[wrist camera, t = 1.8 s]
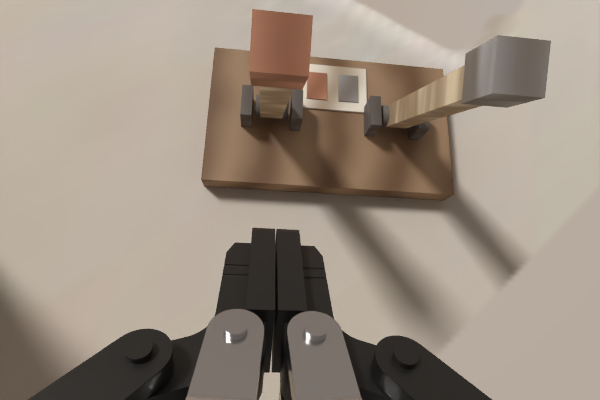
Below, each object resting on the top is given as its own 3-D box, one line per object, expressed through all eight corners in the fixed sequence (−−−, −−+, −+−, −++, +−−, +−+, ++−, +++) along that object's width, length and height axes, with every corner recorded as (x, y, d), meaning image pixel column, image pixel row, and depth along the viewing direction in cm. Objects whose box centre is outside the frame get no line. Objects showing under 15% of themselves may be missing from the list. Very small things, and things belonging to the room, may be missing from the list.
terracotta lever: (255, 122, 37) (247, 71, 18) (256, 92, 36) (250, 8, 18) (286, 124, 37) (311, 76, 18) (288, 95, 37) (314, 15, 18)
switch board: (204, 186, 36) (197, 169, 32) (216, 59, 40) (212, 30, 36) (443, 200, 39) (467, 186, 35) (434, 79, 43) (454, 54, 38)
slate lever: (376, 131, 38) (490, 92, 19) (379, 103, 38) (496, 34, 19) (406, 134, 38) (546, 97, 19) (408, 105, 38) (552, 40, 19)
